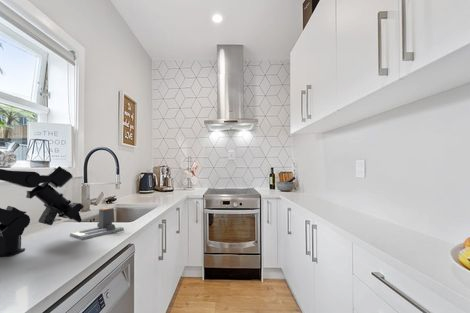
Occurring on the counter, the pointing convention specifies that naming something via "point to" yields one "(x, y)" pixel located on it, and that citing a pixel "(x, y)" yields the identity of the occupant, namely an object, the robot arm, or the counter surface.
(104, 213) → the handle
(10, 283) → the counter surface
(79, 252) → the counter surface
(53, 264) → the counter surface
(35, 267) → the counter surface
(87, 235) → the breaker panel
